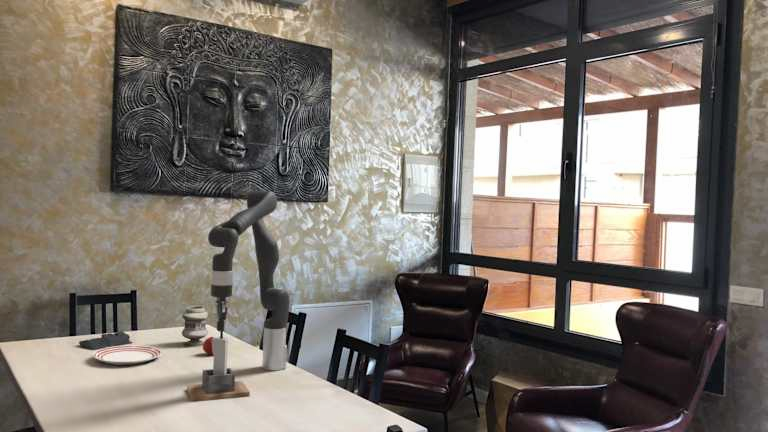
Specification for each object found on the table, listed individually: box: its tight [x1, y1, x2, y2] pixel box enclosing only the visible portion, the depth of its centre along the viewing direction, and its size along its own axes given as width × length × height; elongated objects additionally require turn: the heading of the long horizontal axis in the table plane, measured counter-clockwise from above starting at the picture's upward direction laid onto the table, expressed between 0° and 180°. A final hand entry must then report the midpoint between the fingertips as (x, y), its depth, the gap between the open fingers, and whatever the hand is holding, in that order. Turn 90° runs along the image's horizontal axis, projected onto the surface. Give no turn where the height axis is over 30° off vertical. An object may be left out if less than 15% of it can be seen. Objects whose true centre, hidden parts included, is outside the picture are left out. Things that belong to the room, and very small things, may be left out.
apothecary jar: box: [181, 305, 209, 347], centre depth 290 cm, size 12×12×18 cm
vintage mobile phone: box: [212, 316, 229, 375], centre depth 219 cm, size 4×5×25 cm
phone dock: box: [186, 367, 251, 402], centre depth 219 cm, size 20×14×8 cm
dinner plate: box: [92, 344, 163, 366], centre depth 259 cm, size 28×27×3 cm
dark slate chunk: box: [78, 330, 134, 351], centre depth 284 cm, size 15×22×5 cm
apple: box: [202, 336, 215, 356], centre depth 272 cm, size 8×8×8 cm
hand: (220, 330), depth 218 cm, fingers closed on vintage mobile phone, 1 cm apart
